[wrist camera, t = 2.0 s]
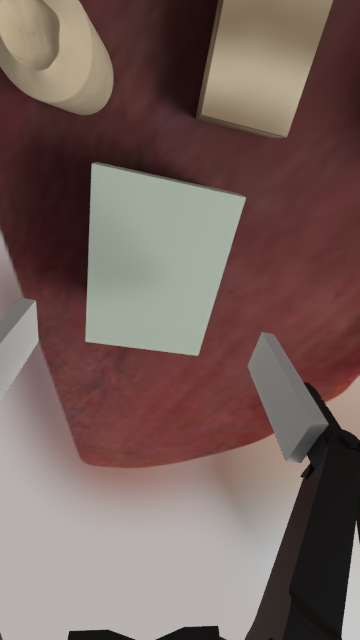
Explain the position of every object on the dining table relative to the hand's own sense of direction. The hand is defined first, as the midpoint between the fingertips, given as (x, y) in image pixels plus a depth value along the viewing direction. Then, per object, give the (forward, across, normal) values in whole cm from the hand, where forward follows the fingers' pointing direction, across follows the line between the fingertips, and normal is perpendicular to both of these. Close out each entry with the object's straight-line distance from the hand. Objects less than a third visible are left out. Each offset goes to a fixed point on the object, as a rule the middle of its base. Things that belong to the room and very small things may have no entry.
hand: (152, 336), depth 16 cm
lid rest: (+16, +5, +18) cm, 25 cm away
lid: (+10, 0, 0) cm, 10 cm away
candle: (+16, -8, +13) cm, 23 cm away
